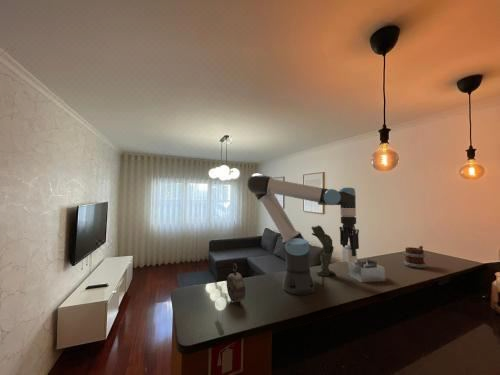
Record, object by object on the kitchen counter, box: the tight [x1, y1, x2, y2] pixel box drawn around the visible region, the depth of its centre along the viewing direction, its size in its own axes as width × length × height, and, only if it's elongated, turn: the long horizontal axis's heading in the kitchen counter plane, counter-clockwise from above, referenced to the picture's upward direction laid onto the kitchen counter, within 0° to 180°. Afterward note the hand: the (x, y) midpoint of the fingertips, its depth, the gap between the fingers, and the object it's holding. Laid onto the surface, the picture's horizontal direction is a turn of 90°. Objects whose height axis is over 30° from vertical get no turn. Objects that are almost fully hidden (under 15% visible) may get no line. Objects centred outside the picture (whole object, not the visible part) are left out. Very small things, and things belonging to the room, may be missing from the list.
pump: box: [341, 244, 358, 263], centre depth 109 cm, size 5×5×9 cm
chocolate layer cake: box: [403, 245, 427, 270], centre depth 136 cm, size 12×14×15 cm
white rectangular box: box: [347, 258, 386, 283], centre depth 116 cm, size 16×11×10 cm
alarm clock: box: [226, 263, 246, 308], centre depth 88 cm, size 11×5×16 cm, turn 27°
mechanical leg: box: [311, 225, 337, 277], centre depth 123 cm, size 14×7×30 cm, turn 85°
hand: (349, 260), depth 109 cm, fingers closed on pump, 5 cm apart
